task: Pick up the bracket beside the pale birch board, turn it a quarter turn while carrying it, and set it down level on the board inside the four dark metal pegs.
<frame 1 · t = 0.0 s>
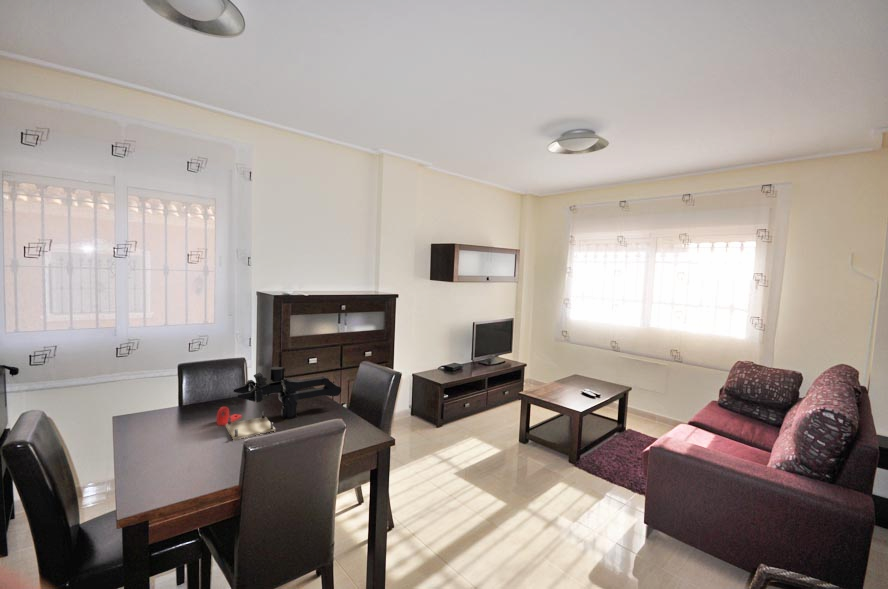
hand: (235, 393, 189), 17 cm above the table, tool horizontal, fingers open, 9 cm apart
peg board: (250, 429, 189), on the table
bracket: (229, 421, 197), on the table
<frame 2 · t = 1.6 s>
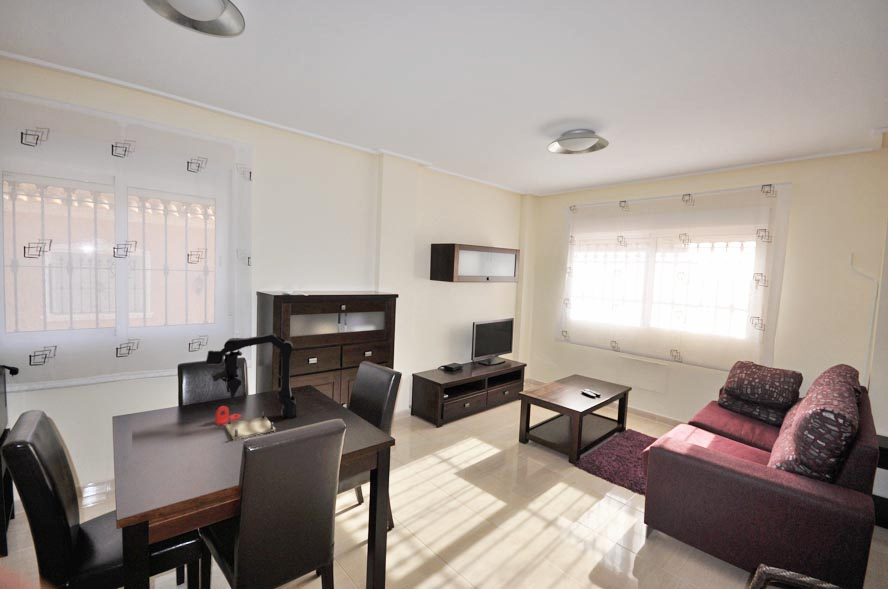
hand: (230, 395, 196), 13 cm above the table, tool pointing down, fingers open, 9 cm apart
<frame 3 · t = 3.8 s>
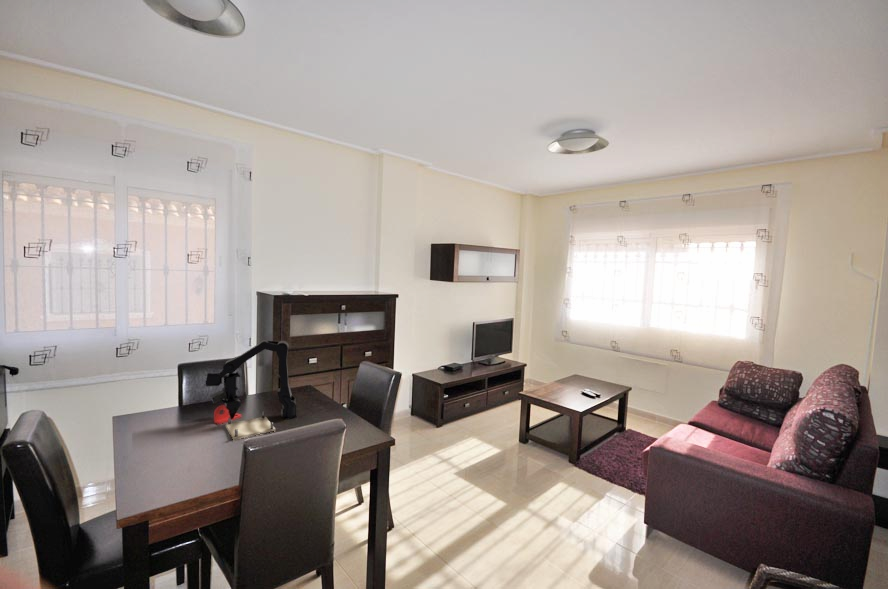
hand: (230, 415, 197), 3 cm above the table, tool pointing down, fingers open, 8 cm apart
bracket: (228, 420, 198), on the table, touching gripper
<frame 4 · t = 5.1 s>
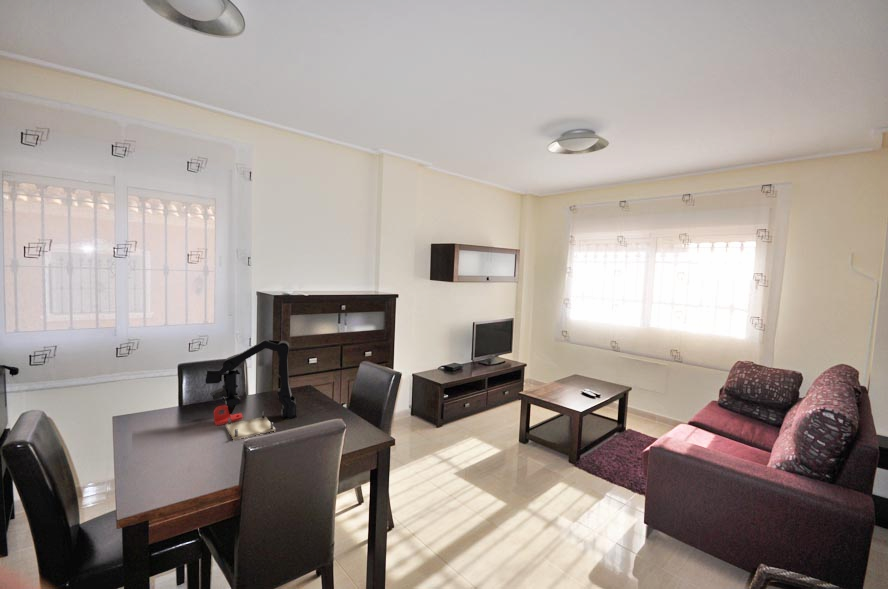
hand: (230, 413, 197), 4 cm above the table, tool pointing down, fingers closed on bracket
bracket: (228, 420, 196), point 1 cm above the table, touching gripper
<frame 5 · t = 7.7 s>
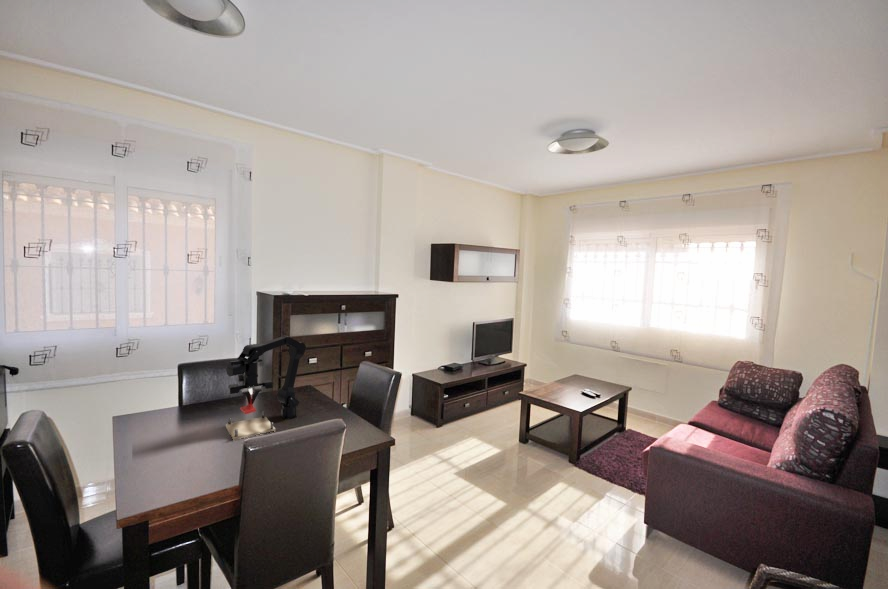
hand: (250, 404, 188), 12 cm above the table, tool pointing down, fingers closed on bracket
bracket: (248, 410, 188), point 9 cm above the table, touching gripper
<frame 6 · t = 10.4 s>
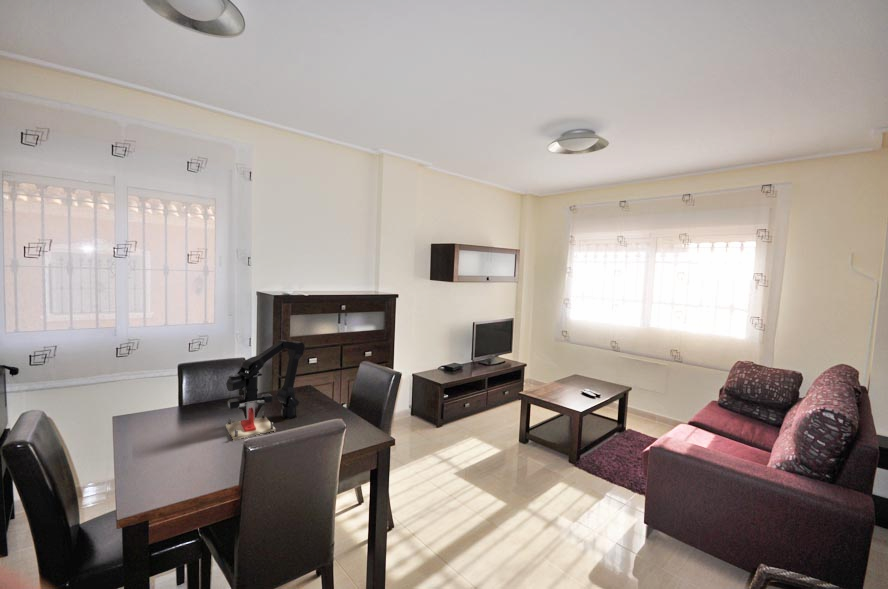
hand: (250, 418, 188), 5 cm above the table, tool pointing down, fingers open, 4 cm apart
bracket: (248, 426, 188), point 1 cm above the table, touching peg board
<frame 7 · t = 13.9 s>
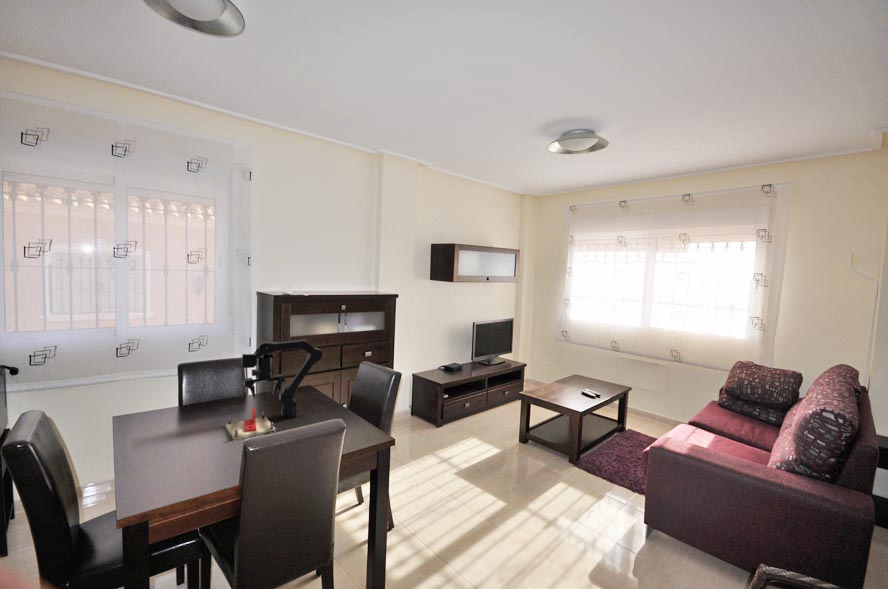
hand: (263, 396, 199), 12 cm above the table, tool pointing down, fingers open, 9 cm apart
at the end: bracket 0.1 cm off-centre on the peg board, point 1.3 cm above the peg board's base; bracket tilted 0°; the gripper is holding nothing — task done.
